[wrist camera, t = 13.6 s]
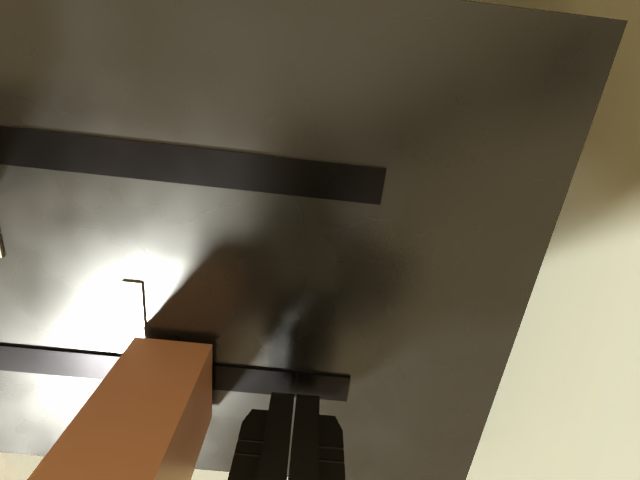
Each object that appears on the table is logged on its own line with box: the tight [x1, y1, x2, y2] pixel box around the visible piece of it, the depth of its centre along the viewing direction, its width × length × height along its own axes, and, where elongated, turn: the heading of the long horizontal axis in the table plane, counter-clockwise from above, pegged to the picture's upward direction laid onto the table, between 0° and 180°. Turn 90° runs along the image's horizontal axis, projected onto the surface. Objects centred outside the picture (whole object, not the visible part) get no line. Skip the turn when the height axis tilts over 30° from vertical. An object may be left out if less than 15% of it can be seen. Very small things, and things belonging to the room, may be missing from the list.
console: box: [0, 0, 627, 480], centre depth 12 cm, size 16×24×3 cm, turn 84°
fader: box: [27, 337, 212, 480], centre depth 10 cm, size 3×2×5 cm
